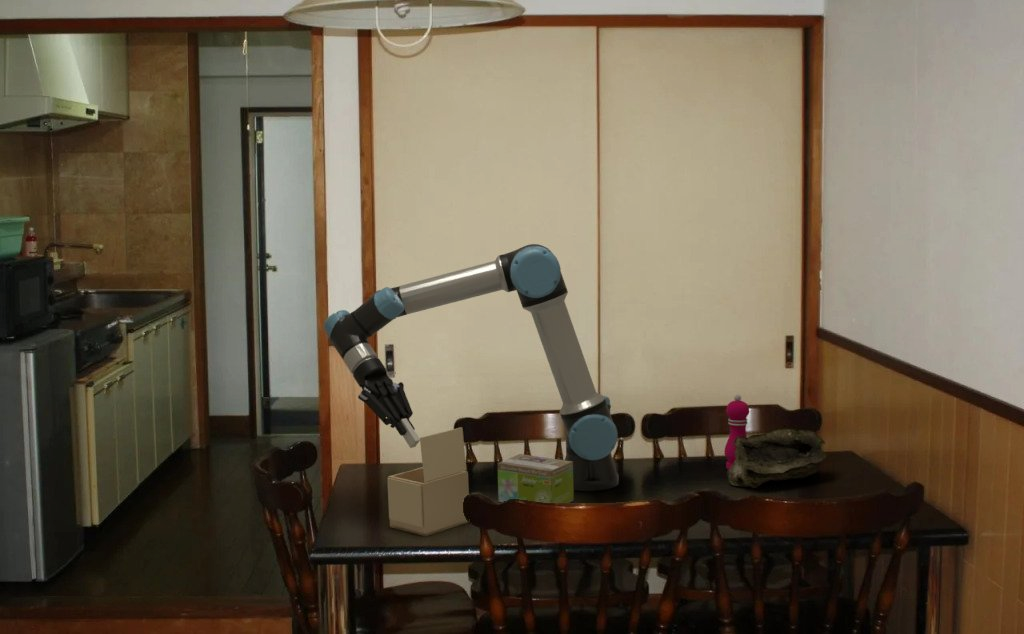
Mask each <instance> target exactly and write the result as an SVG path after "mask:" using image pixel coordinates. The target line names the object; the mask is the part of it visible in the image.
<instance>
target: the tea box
mask: <svg viewBox="0 0 1024 634" xmlns="http://www.w3.org/2000/svg"><path fill="white" fill-rule="evenodd" d="M574 491H575V490H574V489H573V461H565V459H559V458H558V459H557V458H551V457H544V456H537V455H530V454H522V453H519V454H517V455H515V456H512V457H510V458H508V459H506V460H502V461H500V462H497V496H498V504H499V503H502V502H505V501H507V500H509V499H519V500H528V501H535V502H543V503H574V504H575V502H574V500H575V499H574V496H575V493H574Z"/></svg>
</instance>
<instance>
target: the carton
mask: <svg viewBox="0 0 1024 634" xmlns="http://www.w3.org/2000/svg"><path fill="white" fill-rule="evenodd" d="M386 481H387V497H388V498H387V499H388V503H387V505H388V519H389V528H392V529H395V530H399V531H403V532H407V533H412V534H413V535H418V536H422V537H428V536H431V535H434V534H437V533H440V532H443V531H447V530H449V529H453V528H455V527H459V526H461V525H464V524H467V523H469V522H468V521H467V520H466V518H465V516H464V513H463V502H464V498H465V497H466V496H467V495H470V491H469V490H470V489H469V473H468V471H467V470H465V471H462V472H458V473H455V474H451V475H448V476H444V477H441V478H437V479H434V480H430V481H427V482H424V474H423V466H421V467H418V468H415V469H410V470H407V471H402V472H399V473H396V474H392V475H389V476H387V480H386Z"/></svg>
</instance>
